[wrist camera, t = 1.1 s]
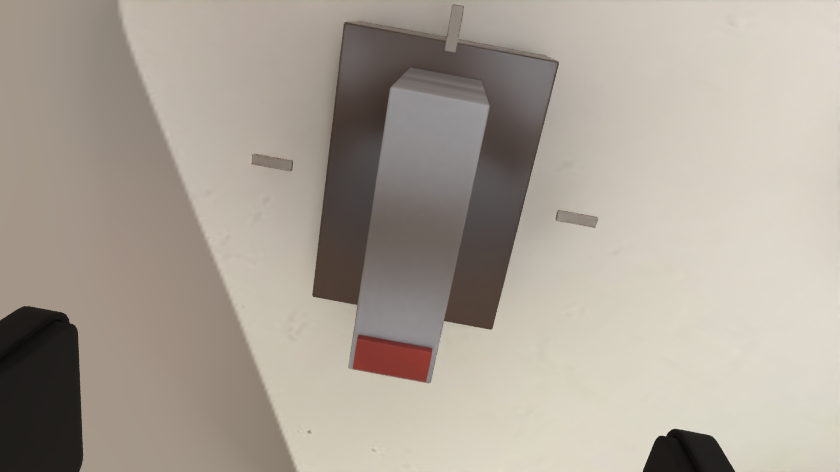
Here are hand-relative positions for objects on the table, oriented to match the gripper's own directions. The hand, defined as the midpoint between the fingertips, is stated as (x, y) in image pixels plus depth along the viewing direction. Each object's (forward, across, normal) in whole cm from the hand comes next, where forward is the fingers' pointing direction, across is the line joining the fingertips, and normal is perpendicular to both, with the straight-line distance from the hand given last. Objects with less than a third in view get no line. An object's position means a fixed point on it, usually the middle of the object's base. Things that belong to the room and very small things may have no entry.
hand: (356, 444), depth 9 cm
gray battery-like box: (+12, 0, -1) cm, 12 cm away
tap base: (+15, 0, -1) cm, 15 cm away
